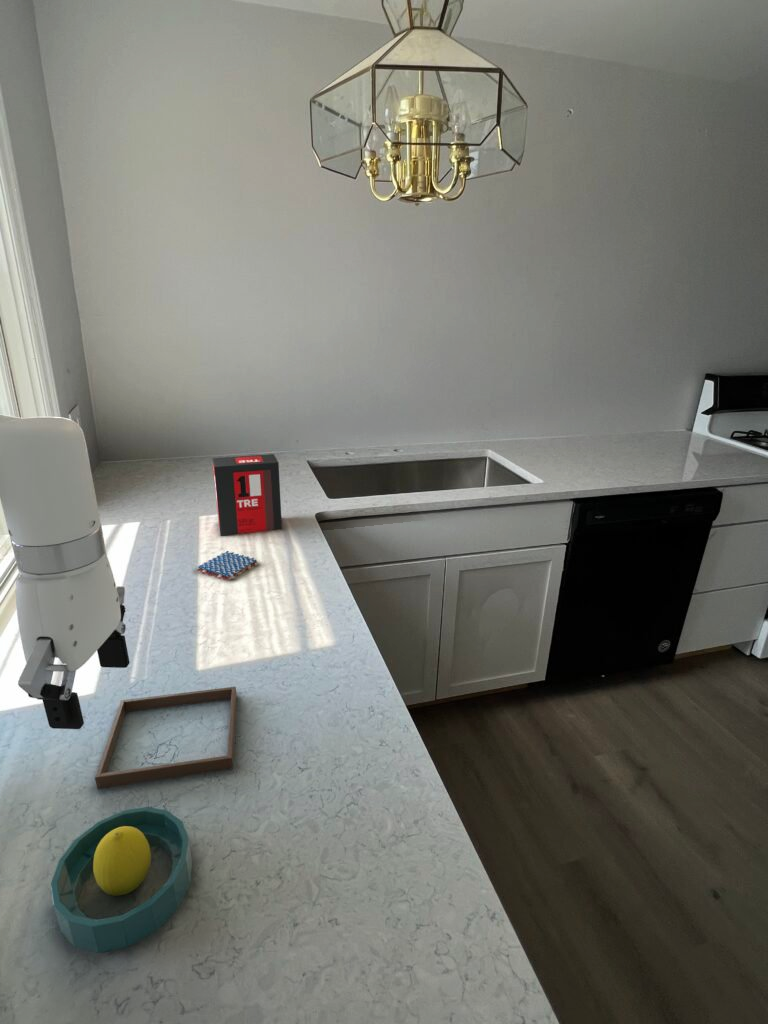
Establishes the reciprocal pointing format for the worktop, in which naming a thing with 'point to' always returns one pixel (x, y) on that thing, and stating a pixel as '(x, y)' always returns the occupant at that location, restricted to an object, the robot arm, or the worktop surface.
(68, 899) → the teal ring
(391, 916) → the worktop surface
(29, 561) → the robot arm
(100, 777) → the brown wooden frame
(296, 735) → the worktop surface
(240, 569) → the woven mat
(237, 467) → the cleaning product box
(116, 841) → the lemon
